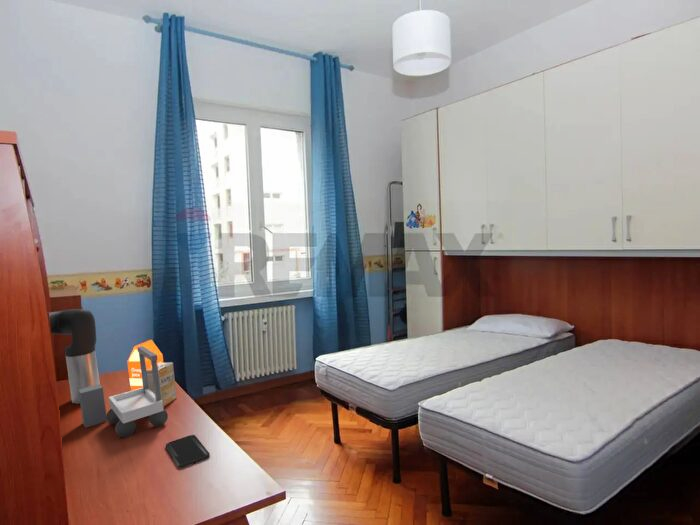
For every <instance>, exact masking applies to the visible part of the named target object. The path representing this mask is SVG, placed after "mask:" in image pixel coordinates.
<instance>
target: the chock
mask: <svg viewBox="0 0 700 525" xmlns="http://www.w3.org/2000/svg"><path fill="white" fill-rule="evenodd" d="M78 391H79V398H80V411H81V419H82V425H83V426H84V428H85V429H86V428H89V427H92V426H96V425H100V424H102V423H105V422H107V421H108V419H107V409H106V403H105V402H106V401H105V394H104V387H103V386H102V385H101V383H100V384H98V385H95V386H91V387H87V388H83V389H79V390H78Z"/></svg>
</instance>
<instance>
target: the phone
mask: <svg viewBox="0 0 700 525" xmlns="http://www.w3.org/2000/svg"><path fill="white" fill-rule="evenodd" d="M165 449H166V451H167V452H168V454H169V455H170V457H171V459H172V460H173V462H174V464H175V465H176V467H177V468H178V469H184V468H186V467H189V466H192V465H195V464H197V463H201V462H203V461H206V460H208V459H210V456H211V454H210V452H209V451H208V450H207V448H206V447H205V446H204V445H203V444H202V442H201V440H199V438H198V437H197V436H196V435H195V434H191V435H190V434H189V435H187V436H183V437H180V438H177V439H174V440H173V441H169V442H167V443H166V444H165Z"/></svg>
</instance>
